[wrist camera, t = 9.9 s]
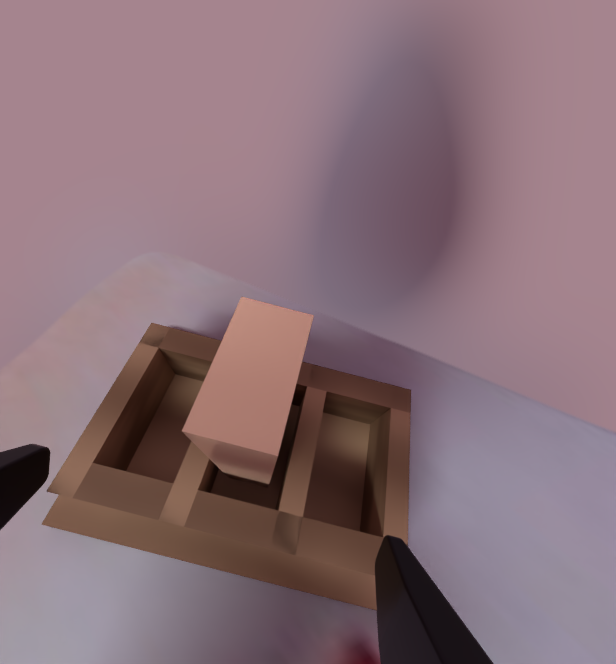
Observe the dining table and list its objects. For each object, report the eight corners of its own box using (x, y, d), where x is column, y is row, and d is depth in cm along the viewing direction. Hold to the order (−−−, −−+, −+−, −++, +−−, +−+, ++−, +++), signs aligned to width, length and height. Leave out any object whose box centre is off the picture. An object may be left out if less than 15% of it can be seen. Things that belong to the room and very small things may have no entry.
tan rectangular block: (267, 487, 18) (277, 456, 7) (228, 477, 18) (181, 431, 7) (286, 416, 20) (313, 315, 10) (251, 407, 20) (241, 296, 10)
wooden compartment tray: (397, 612, 16) (442, 646, 12) (50, 523, 16) (-20, 528, 12) (404, 395, 23) (434, 371, 19) (162, 332, 23) (141, 295, 19)
